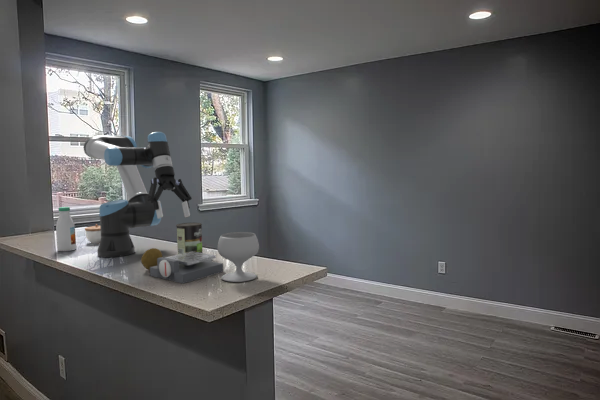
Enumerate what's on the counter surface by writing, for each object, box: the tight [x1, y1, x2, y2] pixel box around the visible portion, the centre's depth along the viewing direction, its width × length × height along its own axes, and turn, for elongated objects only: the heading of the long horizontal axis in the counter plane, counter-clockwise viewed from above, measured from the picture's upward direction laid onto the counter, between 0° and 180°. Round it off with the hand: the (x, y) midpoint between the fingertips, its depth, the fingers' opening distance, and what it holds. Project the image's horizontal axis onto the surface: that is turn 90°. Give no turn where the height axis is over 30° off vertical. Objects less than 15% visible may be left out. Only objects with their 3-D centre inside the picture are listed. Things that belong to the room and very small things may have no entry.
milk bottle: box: [55, 206, 77, 252], centre depth 199 cm, size 8×8×20 cm
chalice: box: [217, 231, 260, 283], centre depth 147 cm, size 14×14×15 cm
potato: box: [140, 247, 163, 271], centre depth 161 cm, size 7×8×8 cm
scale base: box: [149, 256, 224, 284], centre depth 154 cm, size 18×19×7 cm
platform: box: [164, 251, 217, 265], centre depth 155 cm, size 13×13×1 cm
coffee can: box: [175, 222, 204, 255], centre depth 180 cm, size 10×10×14 cm
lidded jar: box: [84, 223, 101, 244], centre depth 218 cm, size 11×11×9 cm
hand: (174, 217), depth 175 cm, fingers open, 13 cm apart
